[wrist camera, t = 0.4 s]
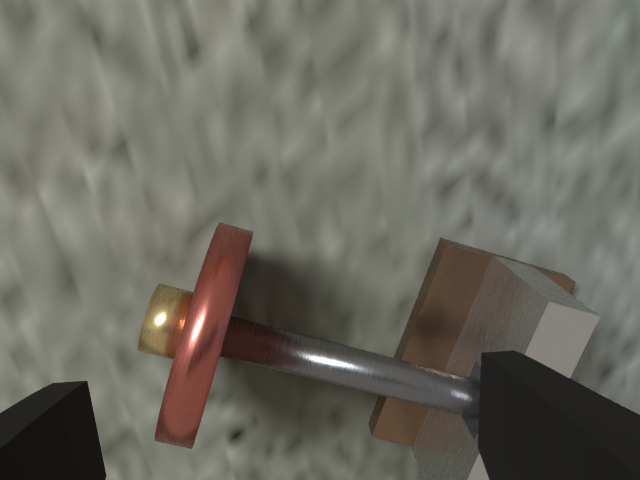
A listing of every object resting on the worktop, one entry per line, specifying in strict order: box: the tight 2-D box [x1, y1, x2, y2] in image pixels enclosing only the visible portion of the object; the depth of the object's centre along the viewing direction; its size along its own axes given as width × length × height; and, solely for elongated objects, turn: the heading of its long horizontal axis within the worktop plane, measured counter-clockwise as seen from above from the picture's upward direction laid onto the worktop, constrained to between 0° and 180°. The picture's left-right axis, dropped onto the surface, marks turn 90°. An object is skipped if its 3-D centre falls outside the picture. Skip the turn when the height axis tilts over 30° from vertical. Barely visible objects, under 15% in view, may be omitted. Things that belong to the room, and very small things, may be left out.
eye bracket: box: [369, 238, 600, 480], centre depth 18 cm, size 5×8×5 cm, turn 162°
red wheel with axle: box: [138, 223, 480, 449], centre depth 16 cm, size 14×6×6 cm, turn 73°
